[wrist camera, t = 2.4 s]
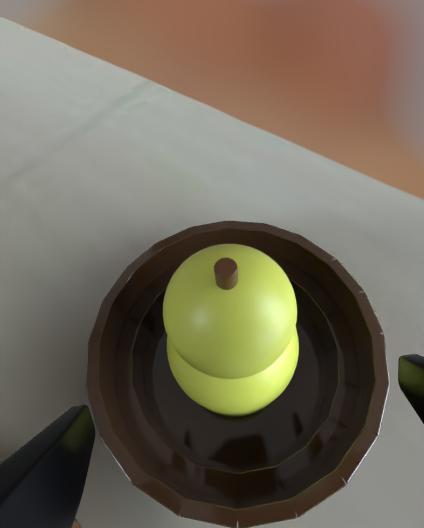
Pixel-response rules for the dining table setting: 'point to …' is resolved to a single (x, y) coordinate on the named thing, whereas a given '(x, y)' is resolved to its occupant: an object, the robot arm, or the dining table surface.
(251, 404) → the pear
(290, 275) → the bowl
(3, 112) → the dining table surface
